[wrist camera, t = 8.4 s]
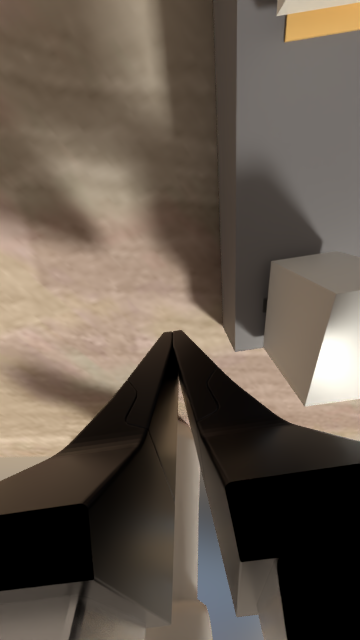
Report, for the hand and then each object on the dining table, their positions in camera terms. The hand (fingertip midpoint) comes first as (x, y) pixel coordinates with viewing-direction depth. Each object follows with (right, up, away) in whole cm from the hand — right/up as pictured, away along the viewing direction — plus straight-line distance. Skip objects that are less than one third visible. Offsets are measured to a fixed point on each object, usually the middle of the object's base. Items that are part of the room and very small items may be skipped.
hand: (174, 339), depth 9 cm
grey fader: (+6, +2, +1) cm, 7 cm away
